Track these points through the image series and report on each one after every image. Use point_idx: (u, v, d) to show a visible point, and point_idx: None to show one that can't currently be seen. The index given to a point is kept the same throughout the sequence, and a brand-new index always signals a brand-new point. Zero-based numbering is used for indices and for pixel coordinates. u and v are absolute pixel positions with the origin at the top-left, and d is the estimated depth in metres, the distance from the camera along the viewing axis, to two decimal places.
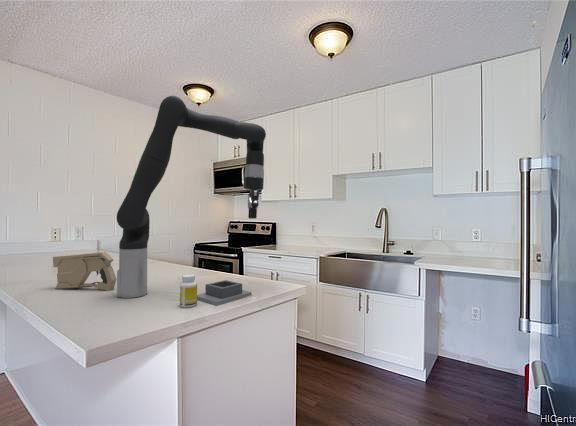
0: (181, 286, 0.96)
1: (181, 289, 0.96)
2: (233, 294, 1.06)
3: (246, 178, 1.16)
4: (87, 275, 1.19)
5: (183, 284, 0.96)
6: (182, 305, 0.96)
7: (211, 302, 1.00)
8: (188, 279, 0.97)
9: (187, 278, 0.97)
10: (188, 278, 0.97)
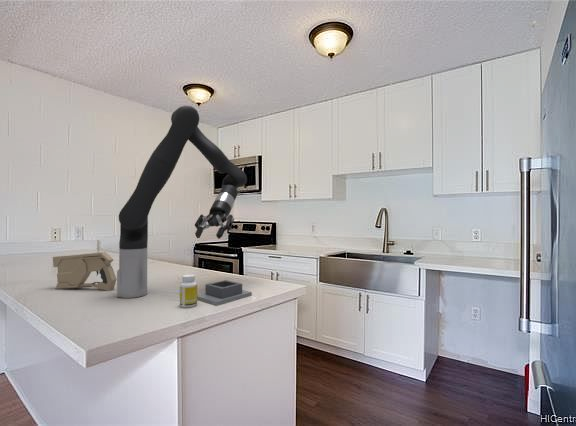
0: (181, 286, 0.96)
1: (181, 289, 0.96)
2: (233, 294, 1.06)
3: (223, 202, 1.17)
4: (87, 275, 1.19)
5: (183, 284, 0.96)
6: (182, 305, 0.96)
7: (211, 302, 1.00)
8: (188, 279, 0.97)
9: (187, 278, 0.97)
10: (188, 278, 0.97)
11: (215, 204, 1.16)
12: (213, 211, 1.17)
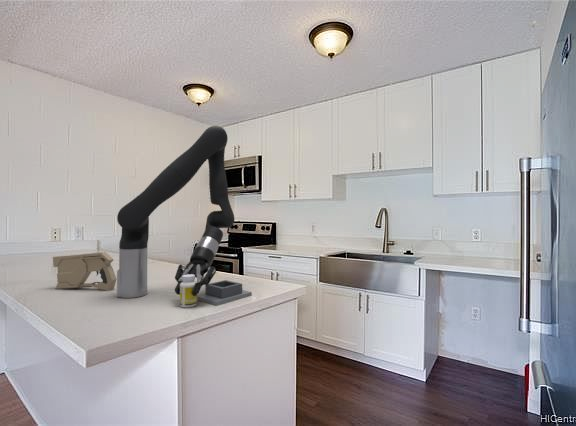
0: (181, 286, 0.96)
1: (181, 289, 0.96)
2: (233, 294, 1.06)
3: (205, 249, 1.05)
4: (87, 275, 1.19)
5: (183, 284, 0.96)
6: (182, 305, 0.96)
7: (211, 302, 1.00)
8: (188, 279, 0.97)
9: (187, 278, 0.97)
10: (188, 278, 0.97)
11: (196, 252, 1.04)
12: (194, 259, 1.04)
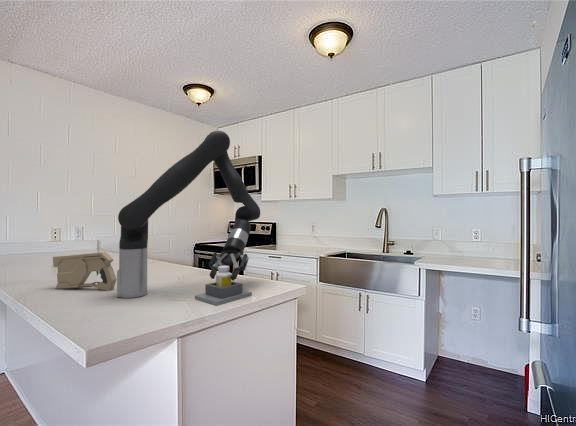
0: (218, 276, 1.06)
1: (218, 279, 1.06)
2: (233, 294, 1.06)
3: (237, 239, 1.15)
4: (87, 275, 1.19)
5: (220, 274, 1.06)
6: None
7: (211, 302, 1.00)
8: (224, 269, 1.06)
9: (223, 269, 1.06)
10: (224, 269, 1.06)
11: (229, 242, 1.14)
12: (227, 249, 1.14)
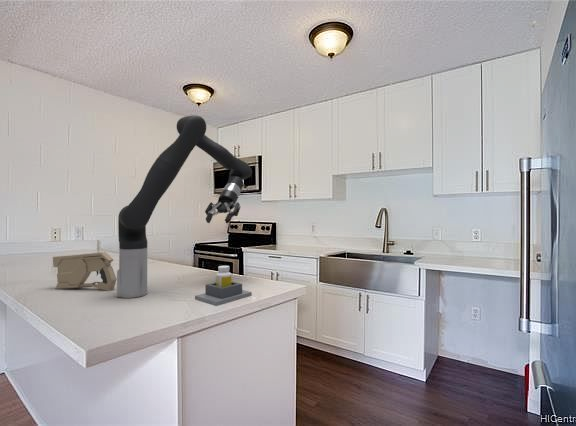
0: (218, 276, 1.06)
1: (218, 279, 1.06)
2: (233, 294, 1.06)
3: (230, 191, 1.30)
4: (87, 275, 1.19)
5: (220, 274, 1.06)
6: None
7: (211, 302, 1.00)
8: (224, 269, 1.06)
9: (223, 269, 1.06)
10: (224, 269, 1.06)
11: (223, 193, 1.29)
12: (221, 199, 1.29)
